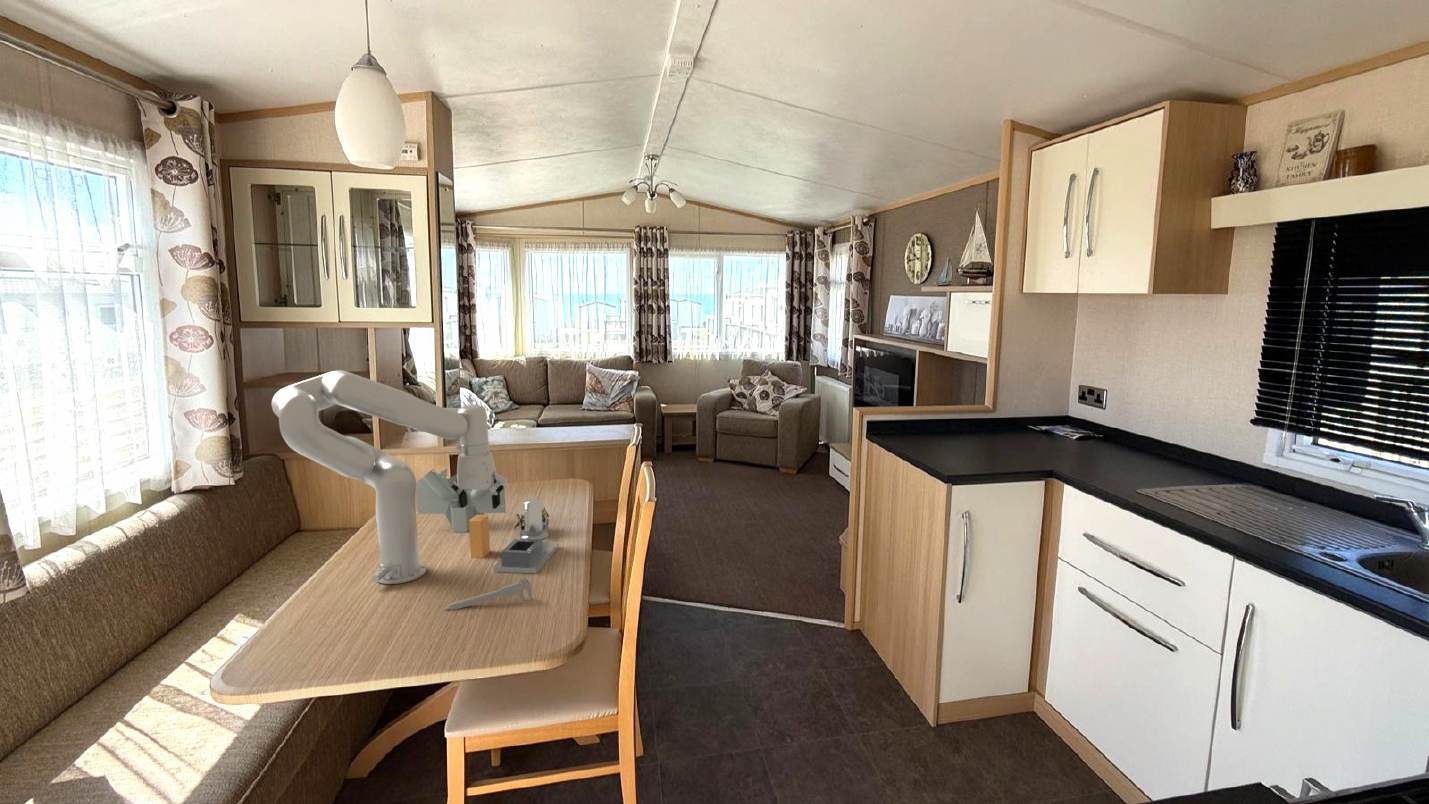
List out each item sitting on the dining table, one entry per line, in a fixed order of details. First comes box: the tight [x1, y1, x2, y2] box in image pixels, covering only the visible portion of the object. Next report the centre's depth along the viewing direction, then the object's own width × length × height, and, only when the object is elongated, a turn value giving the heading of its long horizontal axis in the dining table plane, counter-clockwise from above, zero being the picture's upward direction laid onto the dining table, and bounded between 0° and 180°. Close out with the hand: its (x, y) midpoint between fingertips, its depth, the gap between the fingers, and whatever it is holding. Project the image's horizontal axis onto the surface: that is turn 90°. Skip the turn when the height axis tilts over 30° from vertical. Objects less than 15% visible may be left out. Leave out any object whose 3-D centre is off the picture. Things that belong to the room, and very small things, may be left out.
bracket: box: [416, 467, 507, 533], centre depth 214 cm, size 28×7×20 cm, turn 93°
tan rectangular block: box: [468, 514, 491, 559], centre depth 194 cm, size 5×4×11 cm
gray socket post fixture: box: [493, 497, 560, 575], centre depth 190 cm, size 19×12×16 cm, turn 174°
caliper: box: [443, 576, 533, 611], centre depth 163 cm, size 20×1×6 cm, turn 106°
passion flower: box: [513, 507, 550, 535], centre depth 210 cm, size 11×11×12 cm
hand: (480, 506), depth 193 cm, fingers open, 9 cm apart
